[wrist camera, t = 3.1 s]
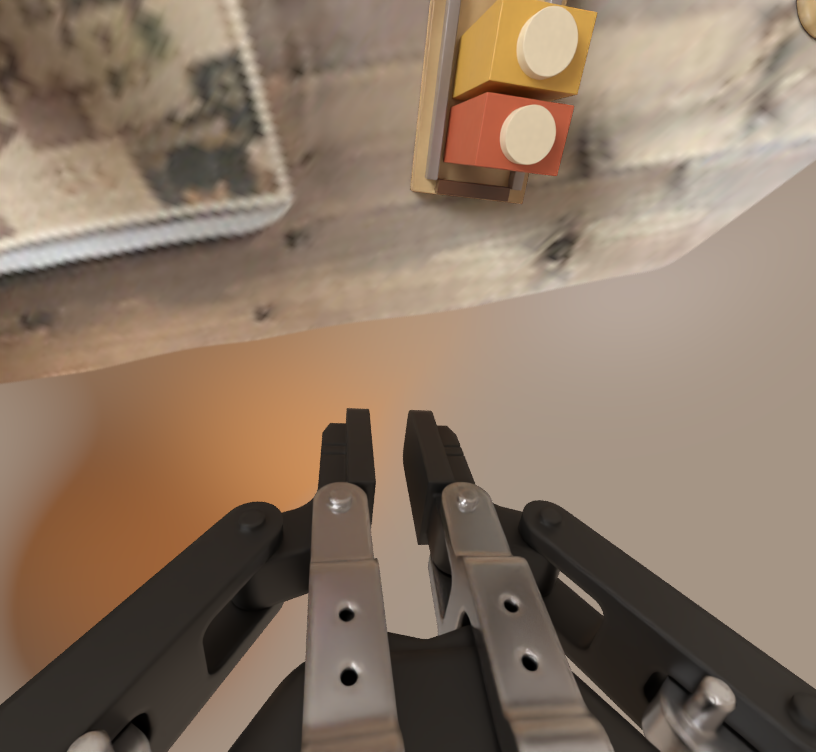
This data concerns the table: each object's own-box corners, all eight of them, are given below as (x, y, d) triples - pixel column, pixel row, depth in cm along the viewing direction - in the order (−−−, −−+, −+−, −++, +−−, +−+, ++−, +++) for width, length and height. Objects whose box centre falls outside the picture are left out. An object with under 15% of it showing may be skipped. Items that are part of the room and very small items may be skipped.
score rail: (410, 189, 34) (414, 192, 32) (449, -180, 25) (460, -215, 22) (516, 202, 35) (528, 205, 33) (589, -143, 26) (613, -172, 24)
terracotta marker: (442, 161, 32) (479, 166, 23) (450, 107, 30) (493, 89, 21) (506, 170, 33) (565, 177, 24) (516, 117, 31) (583, 103, 22)
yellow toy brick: (451, 98, 30) (495, 77, 21) (459, 37, 28) (510, -15, 20) (518, 109, 31) (586, 92, 22) (529, 49, 29) (608, 6, 20)
